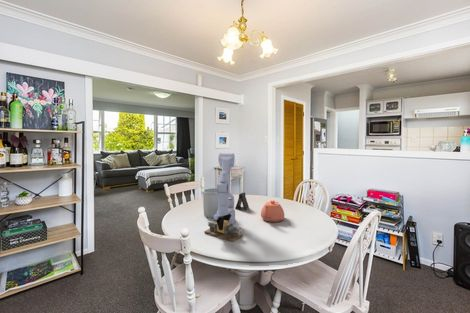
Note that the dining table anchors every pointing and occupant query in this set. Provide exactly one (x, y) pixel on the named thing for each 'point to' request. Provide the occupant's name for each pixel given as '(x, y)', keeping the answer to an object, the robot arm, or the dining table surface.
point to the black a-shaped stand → (242, 200)
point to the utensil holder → (210, 202)
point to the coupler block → (223, 226)
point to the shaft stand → (230, 232)
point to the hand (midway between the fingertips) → (223, 228)
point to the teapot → (272, 211)
